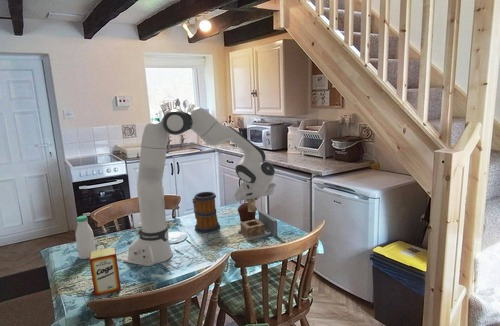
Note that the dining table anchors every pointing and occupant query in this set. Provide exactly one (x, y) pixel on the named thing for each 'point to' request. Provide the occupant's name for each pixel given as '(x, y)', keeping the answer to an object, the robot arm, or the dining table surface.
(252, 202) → the dowel
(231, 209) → the dining table surface
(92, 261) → the baking soda box
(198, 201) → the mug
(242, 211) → the muffin
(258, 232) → the socket block
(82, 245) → the milk bottle
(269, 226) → the backstop
